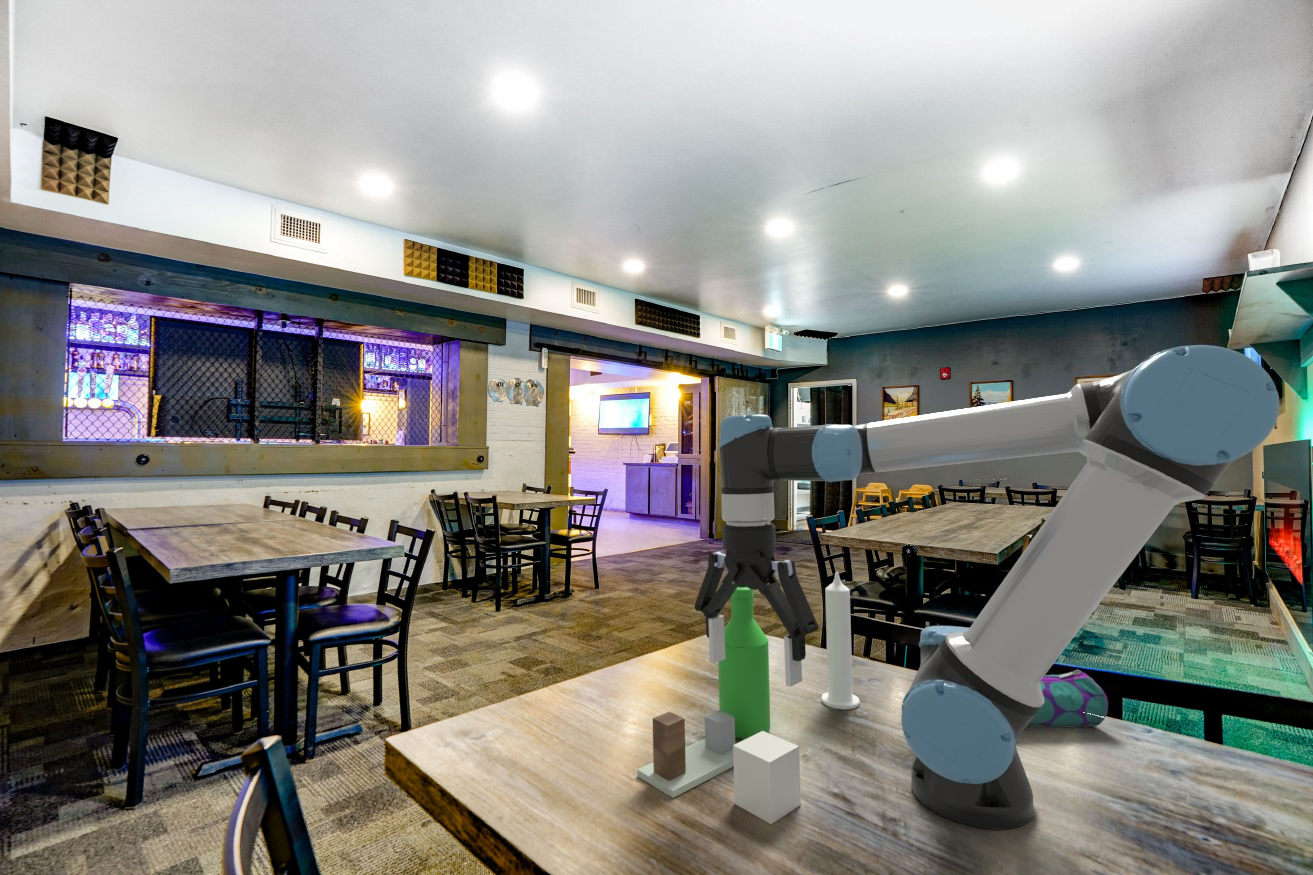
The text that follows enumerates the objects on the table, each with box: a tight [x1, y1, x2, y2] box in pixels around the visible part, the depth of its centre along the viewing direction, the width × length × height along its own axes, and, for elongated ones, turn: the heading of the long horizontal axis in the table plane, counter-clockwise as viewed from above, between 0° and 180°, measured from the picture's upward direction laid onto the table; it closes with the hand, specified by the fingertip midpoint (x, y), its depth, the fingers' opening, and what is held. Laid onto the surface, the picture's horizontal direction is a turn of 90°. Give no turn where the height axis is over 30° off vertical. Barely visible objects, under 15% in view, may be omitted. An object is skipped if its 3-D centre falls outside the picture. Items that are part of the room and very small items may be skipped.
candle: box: [820, 571, 860, 711], centre depth 118 cm, size 7×7×25 cm
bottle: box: [717, 587, 771, 740], centre depth 107 cm, size 9×9×25 cm
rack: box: [636, 709, 738, 799], centre depth 95 cm, size 8×17×6 cm, turn 131°
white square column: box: [733, 731, 802, 825], centre depth 85 cm, size 6×6×8 cm
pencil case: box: [1026, 669, 1109, 728], centre depth 107 cm, size 21×9×10 cm, turn 90°
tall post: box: [652, 711, 686, 781], centre depth 92 cm, size 3×3×8 cm
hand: (753, 671), depth 87 cm, fingers open, 13 cm apart
